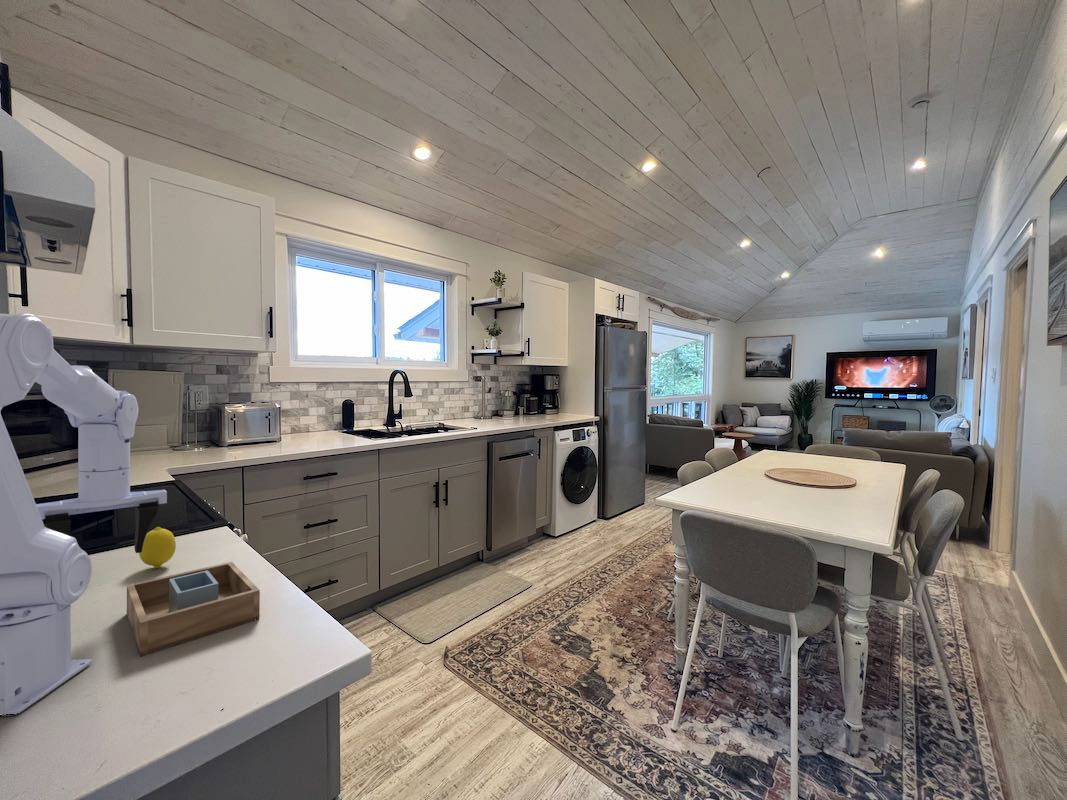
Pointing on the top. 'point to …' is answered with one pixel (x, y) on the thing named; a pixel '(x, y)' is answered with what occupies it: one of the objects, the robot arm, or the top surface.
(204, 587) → the small crate
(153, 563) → the lemon
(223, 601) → the big crate
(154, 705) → the top surface
